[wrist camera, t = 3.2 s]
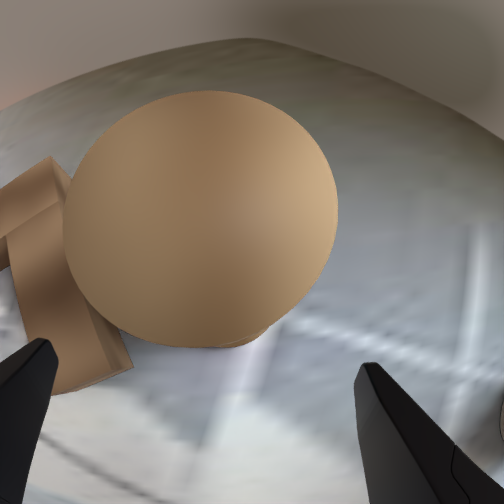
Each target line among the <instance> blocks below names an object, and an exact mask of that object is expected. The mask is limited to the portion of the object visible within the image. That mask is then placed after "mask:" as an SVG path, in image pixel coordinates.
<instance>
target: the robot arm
mask: <svg viewBox="0 0 504 504" xmlns="http://www.w3.org/2000/svg"><path fill="white" fill-rule="evenodd" d="M58 365H59V359H58V356H57V354H56V352H55V350H54V348H53V345H52V343H51V341H50V340H48V339H45V338H40V337H39V338H36V339H34V340H33V341H31V342H30V343H28V344H27V345H25V346H24V347H22V348H21V349H19V350H18V351H17V352H15V353H14V354H12V355H11V356H9V357H8V358H6V359H5V360H3V361H2V362H1V363H0V504H22V501H23V496H24V491H25V487H26V482H27V478H28V474H29V470H30V466H31V462H32V459H33V455H34V451H35V448H36V444H37V441H38V437H39V434H40V431H41V428H42V424H43V421H44V418H45V415H46V412H47V409H48V405H49V401H50V397H51V393H52V389H53V385H54V381H55V377H56V373H57V369H58ZM354 396H355V407H356V420H357V432H358V439H359V445H360V450H361V456H362V461H363V467H364V472H365V478H366V484H367V490H368V496H369V502H370V504H504V488H503V487H501V486H500V485H499V484H498V483H497V482H495V481H494V480H493V479H492V478H491V477H489V476H488V475H487V474H486V473H485V472H484V471H482V470H481V469H480V468H479V467H478V466H477V465H476V464H475V463H474V462H473V461H472V460H471V459H470V458H469V457H468V456H467V455H466V454H465V453H464V452H463V451H462V450H461V449H460V448H459V447H458V446H457V445H455V443H454V442H453V441H452V440H451V439H450V438H449V437H448V436H447V435H446V433H445V432H444V431H443V430H442V429H441V428H440V427H439V426H438V425H437V424H436V423H435V422H434V421H433V420H432V419H431V418H430V417H429V416H428V415H427V414H426V413H425V411H424V410H423V409H422V408H421V407H420V406H419V405H418V404H417V403H416V402H415V401H414V400H413V399H412V398H411V397H410V396H409V395H408V394H407V393H406V392H405V391H404V390H403V389H402V388H401V386H400V385H399V384H398V383H397V382H396V381H395V380H394V379H393V378H392V377H391V376H390V375H389V374H388V373H387V372H386V371H385V370H384V369H383V368H382V367H381V366H380V365H379V364H378V363H376V362H367V363H363V364H362V365H361V367H360V369H359V372H358V374H357V377H356V379H355V382H354Z"/></svg>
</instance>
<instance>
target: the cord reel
mask: <svg viewBox="0 0 504 504" xmlns="http://www.w3.org/2000/svg"><path fill="white" fill-rule="evenodd" d="M337 223H338V200H337V192H336V186H335V182H334V179H333V175H332V172H331V169H330V167H329V165H328V162H327V160H326V158H325V156H324V154H323V153H322V151H321V149H320V148H319V146H318V145H317V143H316V142H315V141H314V139H313V138H312V137H311V136H310V135H309V133H308V132H307V131H306V130H305V129H304V128H303V127H302V126H301V125H300V124H298V123H297V122H296V121H295V120H294V119H292V118H291V117H290V116H288V115H287V114H286V113H284V112H283V111H281V110H279V109H277V108H276V107H274V106H272V105H270V104H268V103H266V102H263V101H261V100H258V99H256V98H252V97H249V96H245V95H242V94H237V93H231V92H224V91H193V92H186V93H180V94H176V95H172V96H168V97H164V98H161V99H158V100H156V101H153V102H150V103H148V104H146V105H144V106H142V107H140V108H138V109H136V110H134V111H133V112H131V113H129V114H128V115H126V116H125V117H123V118H122V119H120V120H119V121H118V122H116V123H115V124H114V125H113V126H111V127H110V128H109V129H108V130H107V131H106V132H105V133H104V134H103V135H102V136H101V137H100V138H99V139H98V140H97V141H96V142H95V143H94V145H93V146H92V147H91V148H90V149H89V151H88V152H87V154H86V155H85V157H84V158H83V160H82V161H81V163H80V165H79V167H78V168H77V170H76V172H75V175H74V177H73V179H72V181H71V184H70V187H69V190H68V193H67V197H66V201H65V206H64V212H63V223H62V229H63V244H64V249H65V255H66V259H67V262H68V265H69V268H70V271H71V274H72V276H73V278H74V279H75V281H76V283H77V285H78V287H79V289H80V290H81V292H82V293H83V295H84V296H85V297H86V299H87V300H88V302H89V303H90V304H91V305H92V306H93V307H94V308H95V309H96V310H97V311H98V312H99V313H100V314H101V315H102V316H103V317H104V318H106V319H107V320H108V321H110V322H111V323H112V324H114V325H115V326H116V327H118V328H120V329H121V330H123V331H125V332H127V333H129V334H131V335H133V336H135V337H138V338H140V339H143V340H146V341H149V342H152V343H156V344H161V345H166V346H172V347H188V348H204V347H214V346H215V347H228V348H229V347H237V346H241V345H244V344H247V343H249V342H251V341H253V340H255V339H256V338H258V337H259V336H260V335H261V334H263V333H264V332H265V331H266V330H267V329H268V327H269V326H271V325H272V324H274V323H275V322H276V321H278V320H279V319H280V318H281V317H283V316H284V315H285V314H286V313H288V312H289V311H290V310H291V309H292V308H293V307H294V306H295V305H296V304H297V303H298V302H299V301H300V300H301V299H302V298H303V297H304V296H305V295H306V294H307V293H308V291H309V290H310V289H311V287H312V286H313V284H314V283H315V282H316V280H317V279H318V277H319V276H320V274H321V272H322V270H323V268H324V266H325V264H326V262H327V260H328V258H329V255H330V252H331V249H332V246H333V243H334V240H335V234H336V229H337Z"/></svg>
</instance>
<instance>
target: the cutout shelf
mask: <svg viewBox="0 0 504 504" xmlns="http://www.w3.org/2000/svg"><path fill="white" fill-rule="evenodd" d="M71 181H72V179H71V178H70V177H69V176H68V174H67V173H66V172H65V171H64V170H63V169H62V168H61V167H60V166H59V165H58V163H57V162H56V161H55V160H54V159H53V158H52V157H51V156H49V157H47V158H46V159H44V160H43V161H41V162H39V163H38V164H36V165H35V166H33V167H32V168H30V169H29V170H27V171H26V172H24V173H23V174H21V175H20V176H18V177H17V178H15V179H14V180H13V181H11V182H10V183H8V184H7V185H6V186H4V187H3V188H1V189H0V271H1V270H3V269H4V268H6V267H7V266H9V265H11V271H12V276H13V281H14V286H15V290H16V295H17V299H18V304H19V308H20V312H21V316H22V319H23V323H24V327H25V330H26V334H27V337H28V341H29V343H30V342H31V341H33V340H34V339H36V338H39V337H40V338H45V339H48V340H50V341H51V343H52V345H53V348H54V350H55V352H56V354H57V356H58V359H59V365H58V369H57V373H56V377H55V381H54V385H53V389H52V393H51V396H54V395H59V394H64V393H69V392H74V391H78V390H81V389H83V388H86V387H88V386H90V385H93V384H95V383H98V382H100V381H103V380H105V379H107V378H110V377H112V376H114V375H117V374H119V373H122V372H124V371H126V370H128V369H131V368H133V367H134V366H133V364H132V362H131V359H130V357H129V355H128V353H127V350H126V348H125V346H124V343H123V341H122V338H121V336H120V333H119V331H118V329H117V327H116V326H115V325H114V324H112V323H111V322H110V321H108V320H107V319H106V318H104V317H103V316H102V315H101V314H100V313H99V312H98V311H97V310H96V309H95V308H94V307H93V306H92V305H91V304H90V303H89V302H88V300H87V299H86V297H85V296H84V295H83V293H82V292H81V290H80V289H79V287H78V285H77V283H76V281H75V279H74V278H73V276H72V274H71V271H70V268H69V265H68V262H67V259H66V255H65V249H64V244H63V229H62V223H63V212H64V206H65V201H66V197H67V193H68V190H69V187H70V184H71Z"/></svg>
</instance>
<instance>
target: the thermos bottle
mask: <svg viewBox="0 0 504 504" xmlns="http://www.w3.org/2000/svg"><path fill="white" fill-rule="evenodd" d="M500 428H501V434H502V438H503V440H504V401H503V405H502V410H501V418H500Z"/></svg>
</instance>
